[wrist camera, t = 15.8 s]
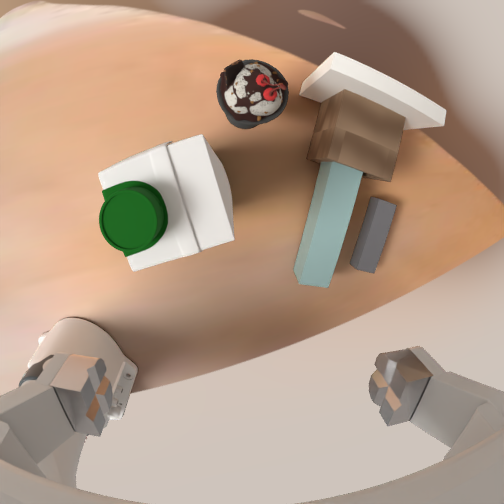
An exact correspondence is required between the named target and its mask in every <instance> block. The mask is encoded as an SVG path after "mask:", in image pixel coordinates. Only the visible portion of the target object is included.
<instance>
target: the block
mask: <svg viewBox="0 0 504 504" xmlns="http://www.w3.org/2000/svg"><path fill="white" fill-rule="evenodd" d="M405 119H406V117H404V116H402V115H400V114H398V113H396V112H394V111H392V110H390V109H388V108H386V107H384V106H382V105H380V104H378V103H376V102H374V101H372V100H369V99H367V98H365V97H363V96H360V95H358V94H356V93H353V92H351V91H349V90H346V89H344V90H342V91H340V92H338V93H337V94H335V95H333V96H331V97H330V98H328V99H326V100H325V101H323V102H321V106H320V110H319V114H318V118H317V121H316V125H315V129H314V133H313V137H312V140H311V144H310V148H309V151H308V155H307V159H308V160H311V161H315V162H318V163H321V162H337V163H340V164H342V165H345V166H348V167H351V168H353V169H356V170H359V171H362V172H363V174H362V178H368V179H375V180H382V181H388V182H391V179H392V175H393V171H394V167H395V163H396V159H397V155H398V151H399V147H400V142H401V138H402V133H403V128H404V124H405Z"/></svg>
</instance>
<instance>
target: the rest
mask: <svg viewBox="0 0 504 504" xmlns="http://www.w3.org/2000/svg"><path fill="white" fill-rule="evenodd" d="M396 206H397V205H394V204H392V203H389V202H387V201H384V200H381V199H378V198H375V197H371V198H370V201H369V205H368V208H367V211H366V215H365V218H364V221H363V224H362V228H361V231H360V234H359V237H358V240H357V243H356V246H355V249H354V252H353V255H352V258H351V261H350V264H351V265H352V266H353V267H354V268H355V269H357V270H361V271H365V272H369V273H375V270H376V267H377V264H378V261H379V259H380V256H381V253H382V250H383V247H384V244H385V241H386V238H387V235H388V232H389V229H390V226H391V222H392V219H393V216H394V213H395V209H396Z"/></svg>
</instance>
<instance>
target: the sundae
mask: <svg viewBox="0 0 504 504" xmlns="http://www.w3.org/2000/svg"><path fill="white" fill-rule="evenodd" d="M220 76H221V77H220V79H219V80H218V84H217V91H216V92H217V98H218V102H219V105H220V106H221V108H222V110H223V111H224V113H225V114H226V117H227V119H228V120H229V122H230V123H231V124H233V125H234V126H236V127H238V128H242V129H249V128H253V127H255V126H257V125H258V124H263V123H267V122H269V121H271V120H273V119H275V118H276V117H278V116H279V115H280V114H281V113H282V111H283V110H284V108H285V106H286V104H287V101H288V94H289V91H288V82H287V81H286V80H285V78H284V77H283V75H282V74H281V73H280V72H279V71H278V70H277V69H276V68H274V67H273V66H271V65H270V64H267V63H265V62H262V61H259V60H244V61H242V60H238V61H236V62H234V63H232V64H231V65H229V66H227V67H226V68H225V69H224V72H222V73H221V74H220Z"/></svg>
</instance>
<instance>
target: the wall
mask: <svg viewBox="0 0 504 504" xmlns="http://www.w3.org/2000/svg"><path fill="white" fill-rule="evenodd" d="M344 89H346V90H349V91H351V92H353V93H356V94H358V95H360V96H363V97H365V98H367V99H369V100H372V101H374V102H376V103H378V104H380V105H382V106H384V107H386V108H388V109H390V110H392V111H394V112H396V113H398V114H400V115H402V116H404V117H406V119H405V124H404V128H403V130H409V129H418V128H428V127H439V126H444V123H445V116H446V110H445V109H444V108H442V107H441V106H439V105H437V104H436V103H434V102H433V101H431V100H430V99H428V98H426V97H425V96H423V95H421V94H420V93H418V92H416V91H415V90H413V89H411V88H409V87H407V86H406V85H404V84H402V83H400V82H398V81H396V80H395V79H393V78H391V77H389V76H387V75H385V74H383V73H381V72H379V71H376V70H375V69H373V68H371V67H368V66H366V65H364V64H362V63H360V62H357V61H355V60H353V59H351V58H348V57H346V56H344V55H341V54H339V53H336V52H334V53H333V54H332V55H331V56H330V57H329V58H328V59H326V60H325V61H324V62H323V63H322V64H321V65H320V66H319V67H318V68H317V69H316V70H315V71H314V72H313V73H312V74H311V75H309V76H308V77H307V78H306V79H305V80H304V81H303V83H302V86H301V90H300V94H299V95H300V96H303V97H306V98H309V99H312V100H315V101H317V102H320V103H321V102H323V101H325V100H326V99H328V98H330V97H331V96H333V95H335V94H337V93H338V92H340V91H342V90H344Z"/></svg>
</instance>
